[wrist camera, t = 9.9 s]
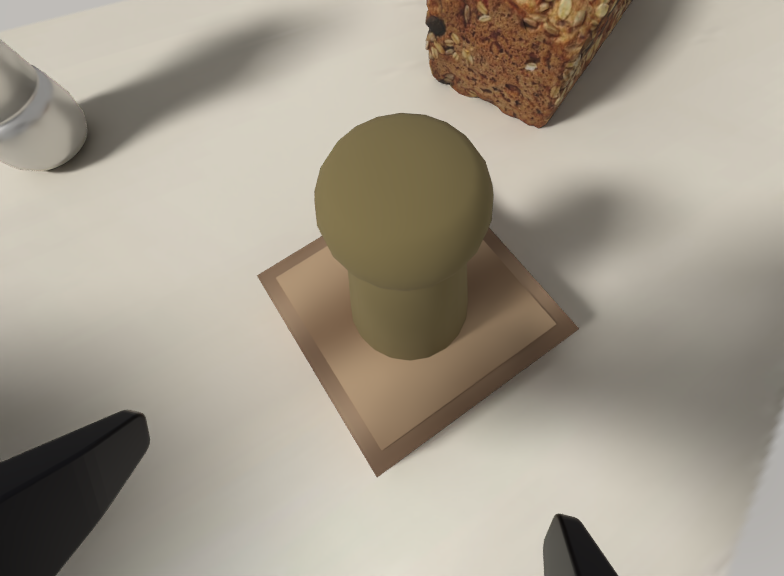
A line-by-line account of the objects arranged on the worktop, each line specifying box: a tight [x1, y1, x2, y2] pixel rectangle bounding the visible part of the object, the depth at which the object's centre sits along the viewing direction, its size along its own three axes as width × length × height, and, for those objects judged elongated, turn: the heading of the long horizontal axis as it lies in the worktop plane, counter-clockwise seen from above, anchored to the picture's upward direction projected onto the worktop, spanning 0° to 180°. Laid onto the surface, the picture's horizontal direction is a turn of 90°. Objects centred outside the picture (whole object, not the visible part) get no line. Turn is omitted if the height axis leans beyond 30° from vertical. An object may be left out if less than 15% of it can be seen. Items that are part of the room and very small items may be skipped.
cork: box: [315, 113, 493, 361], centre depth 15 cm, size 6×6×11 cm
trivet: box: [257, 228, 579, 477], centre depth 22 cm, size 12×12×3 cm
